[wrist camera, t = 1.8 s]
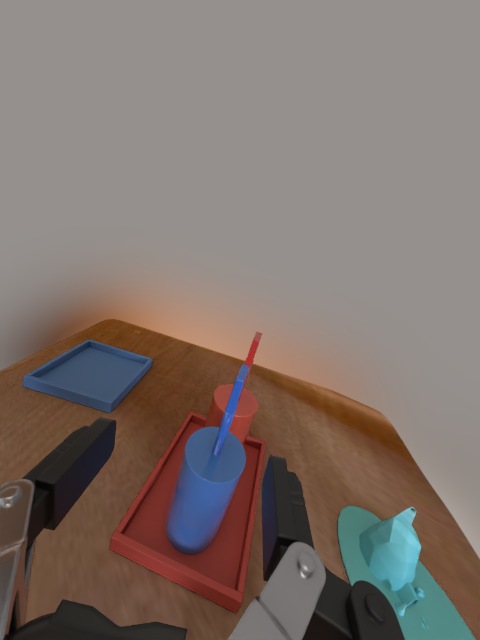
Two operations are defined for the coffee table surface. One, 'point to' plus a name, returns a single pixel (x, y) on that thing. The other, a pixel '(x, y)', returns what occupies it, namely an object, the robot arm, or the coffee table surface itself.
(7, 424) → the coffee table surface
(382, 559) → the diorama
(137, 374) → the blue tray
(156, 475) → the red tray
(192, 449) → the blue pot
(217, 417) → the red spoon pot
